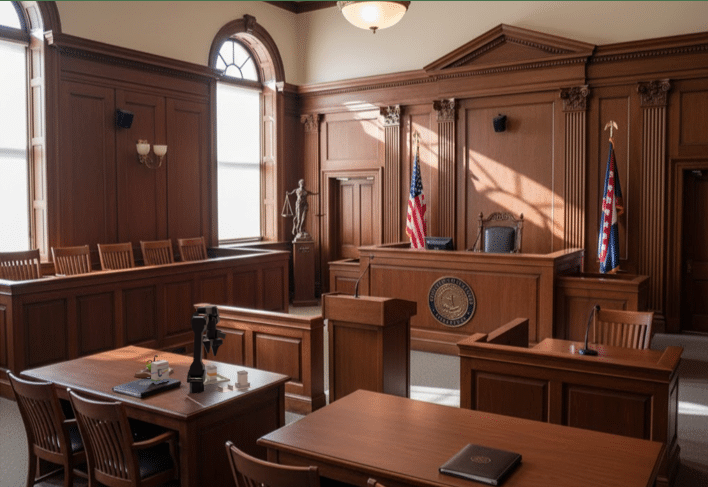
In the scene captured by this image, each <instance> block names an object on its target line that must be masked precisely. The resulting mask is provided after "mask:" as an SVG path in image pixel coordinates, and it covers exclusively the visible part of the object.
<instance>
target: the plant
mask: <svg viewBox="0 0 708 487" xmlns="http://www.w3.org/2000/svg"><path fill="white" fill-rule="evenodd" d="M158 357H159V355H158V354H155V355H154V356H153V360H151V359H148V360H147V361H145V366H146V367H143V368H142V369H139V370H136V371H135V373H134V377H135V378H142V379H147V378H146V377H151V363H152V362H156V361H160V359H157V360H156V358H158ZM149 362H150V363H149ZM174 372H175V371H174V369H173V368H172V367H170V366H169V376H170V375H172V374H174Z"/></svg>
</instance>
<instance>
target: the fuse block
mask: <svg viewBox="0 0 708 487" xmlns="http://www.w3.org/2000/svg"><path fill="white" fill-rule="evenodd" d="M249 388H253V386H252V385H251V382H249V381H248V387H243V388H241V384H239V383H238V382H237V381H236V382H234V385H232V384H230V383H227V386H221V385H217V388H215V390H216V391H218V392H220V393H222V394H223V393H228V392H233V391H240V390H243V389H249Z"/></svg>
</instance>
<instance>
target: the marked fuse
mask: <svg viewBox="0 0 708 487" xmlns="http://www.w3.org/2000/svg"><path fill="white" fill-rule="evenodd" d="M217 370H218V366H216V365H208V366H206V375H207V381H209V382H212V381H218V380H217V373H218V371H217Z"/></svg>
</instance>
